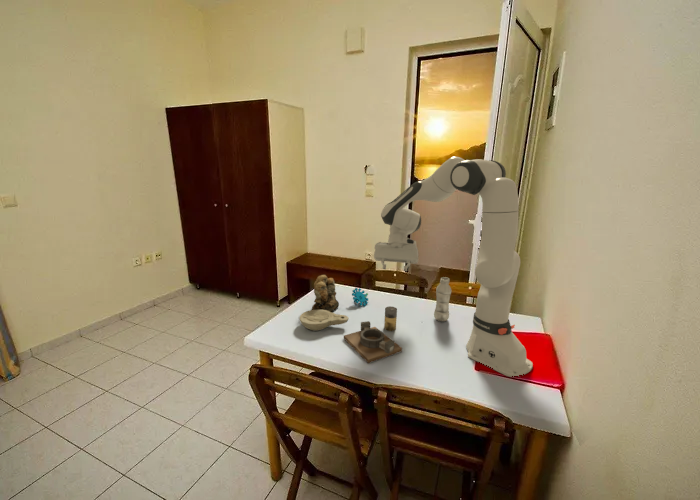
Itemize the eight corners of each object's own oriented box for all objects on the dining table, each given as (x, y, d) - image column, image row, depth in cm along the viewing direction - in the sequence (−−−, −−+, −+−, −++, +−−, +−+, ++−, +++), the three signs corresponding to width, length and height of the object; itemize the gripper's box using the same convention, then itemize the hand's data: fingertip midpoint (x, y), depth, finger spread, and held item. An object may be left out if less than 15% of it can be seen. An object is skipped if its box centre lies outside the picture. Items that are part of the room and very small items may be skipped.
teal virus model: (359, 306, 147) (350, 288, 151) (352, 312, 151) (343, 294, 154) (373, 302, 155) (364, 285, 159) (366, 307, 159) (358, 291, 162)
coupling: (398, 329, 130) (399, 310, 128) (388, 332, 128) (389, 312, 125) (391, 324, 134) (392, 305, 132) (381, 327, 132) (382, 307, 130)
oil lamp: (348, 318, 139) (348, 308, 138) (348, 335, 125) (348, 324, 124) (302, 318, 139) (302, 307, 138) (297, 334, 125) (296, 323, 124)
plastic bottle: (451, 321, 137) (456, 280, 132) (439, 324, 135) (443, 282, 130) (442, 315, 143) (446, 275, 138) (430, 317, 140) (434, 277, 135)
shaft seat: (402, 352, 114) (403, 339, 113) (369, 363, 107) (369, 351, 106) (374, 329, 130) (374, 318, 129) (343, 338, 123) (343, 326, 121)
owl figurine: (329, 318, 139) (328, 283, 135) (305, 314, 143) (304, 279, 139) (343, 302, 156) (343, 270, 151) (322, 299, 159) (321, 268, 155)
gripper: (375, 238, 143) (371, 264, 136) (419, 241, 139) (418, 268, 132) (375, 245, 148) (372, 270, 142) (418, 248, 144) (417, 274, 138)
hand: (394, 269), depth 137 cm, fingers open, 8 cm apart
